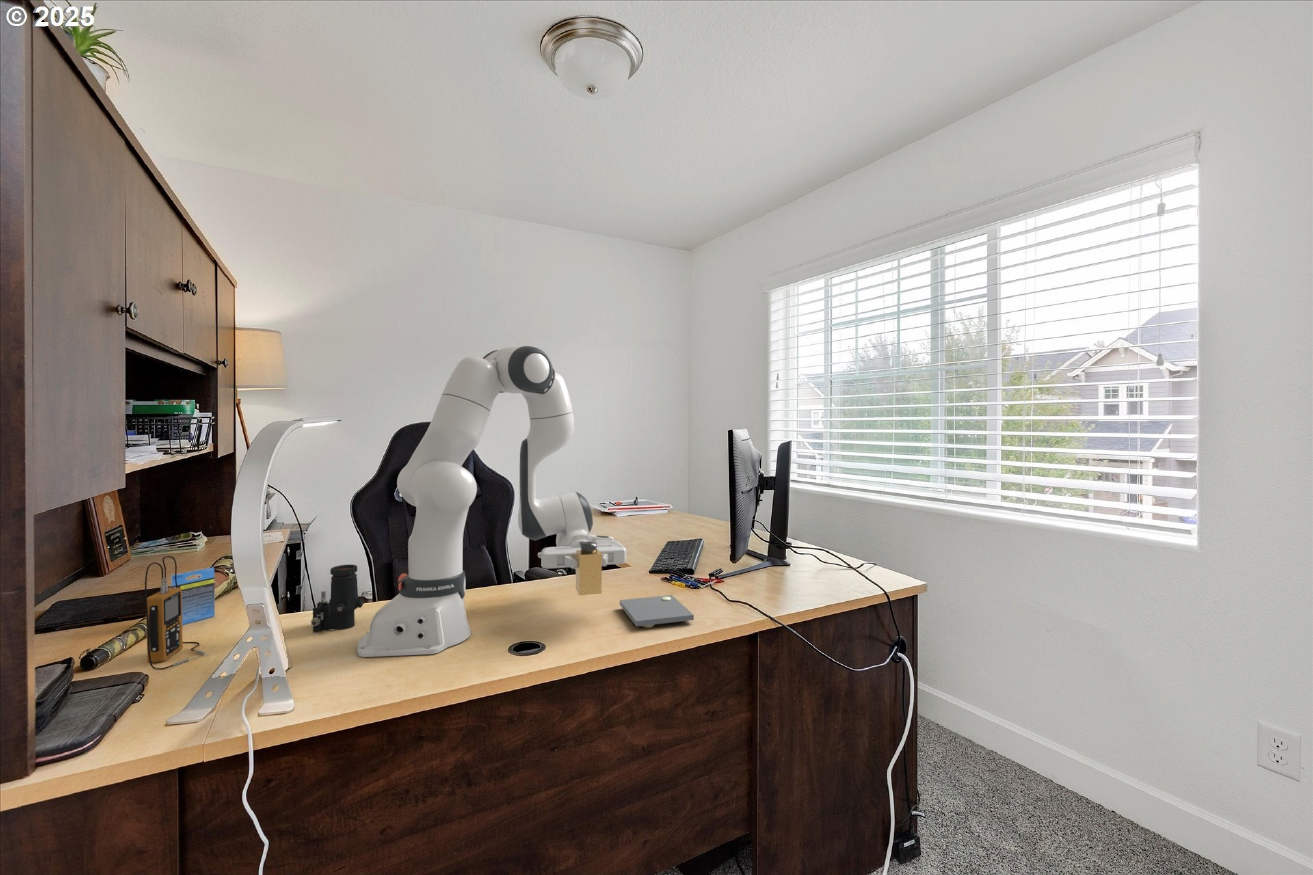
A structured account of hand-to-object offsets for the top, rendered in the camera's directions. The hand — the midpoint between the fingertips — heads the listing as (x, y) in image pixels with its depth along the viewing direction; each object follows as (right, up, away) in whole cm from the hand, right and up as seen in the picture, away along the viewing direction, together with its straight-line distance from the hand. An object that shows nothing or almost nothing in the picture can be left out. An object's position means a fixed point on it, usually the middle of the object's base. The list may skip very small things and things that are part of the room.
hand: (589, 563), depth 126 cm
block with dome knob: (0, -7, +1) cm, 7 cm away
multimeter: (-81, -16, -12) cm, 83 cm away
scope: (-58, -16, +3) cm, 60 cm away
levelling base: (+15, -15, +10) cm, 24 cm away
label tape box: (-96, -15, +7) cm, 98 cm away
